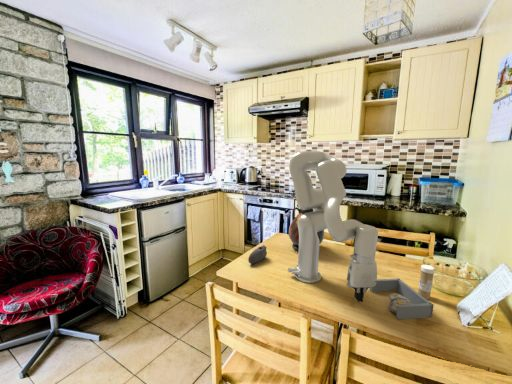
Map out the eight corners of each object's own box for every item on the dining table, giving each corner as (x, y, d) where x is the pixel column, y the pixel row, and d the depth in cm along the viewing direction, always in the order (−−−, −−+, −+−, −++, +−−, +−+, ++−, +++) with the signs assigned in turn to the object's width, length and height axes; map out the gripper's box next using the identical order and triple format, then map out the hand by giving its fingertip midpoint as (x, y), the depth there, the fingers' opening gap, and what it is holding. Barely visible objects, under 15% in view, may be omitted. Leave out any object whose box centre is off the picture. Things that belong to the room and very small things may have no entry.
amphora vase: (327, 246, 153) (330, 203, 148) (317, 259, 134) (320, 210, 130) (295, 239, 164) (297, 199, 159) (282, 250, 145) (283, 205, 140)
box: (398, 319, 87) (399, 307, 86) (369, 290, 105) (370, 279, 104) (431, 317, 88) (433, 304, 87) (397, 288, 106) (399, 278, 105)
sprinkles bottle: (414, 293, 103) (418, 264, 101) (424, 292, 103) (428, 263, 101) (423, 299, 98) (427, 269, 96) (433, 299, 99) (437, 269, 97)
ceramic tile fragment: (384, 289, 100) (411, 294, 97) (383, 296, 101) (410, 301, 98) (389, 307, 89) (421, 313, 86) (388, 315, 90) (420, 321, 86)
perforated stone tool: (252, 267, 124) (252, 254, 123) (244, 264, 128) (244, 252, 127) (269, 257, 136) (269, 246, 135) (262, 255, 139) (262, 243, 138)
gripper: (349, 262, 87) (344, 307, 91) (388, 261, 89) (381, 305, 92) (340, 253, 95) (336, 294, 98) (376, 252, 96) (370, 293, 100)
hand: (358, 299), depth 95 cm, fingers closed
